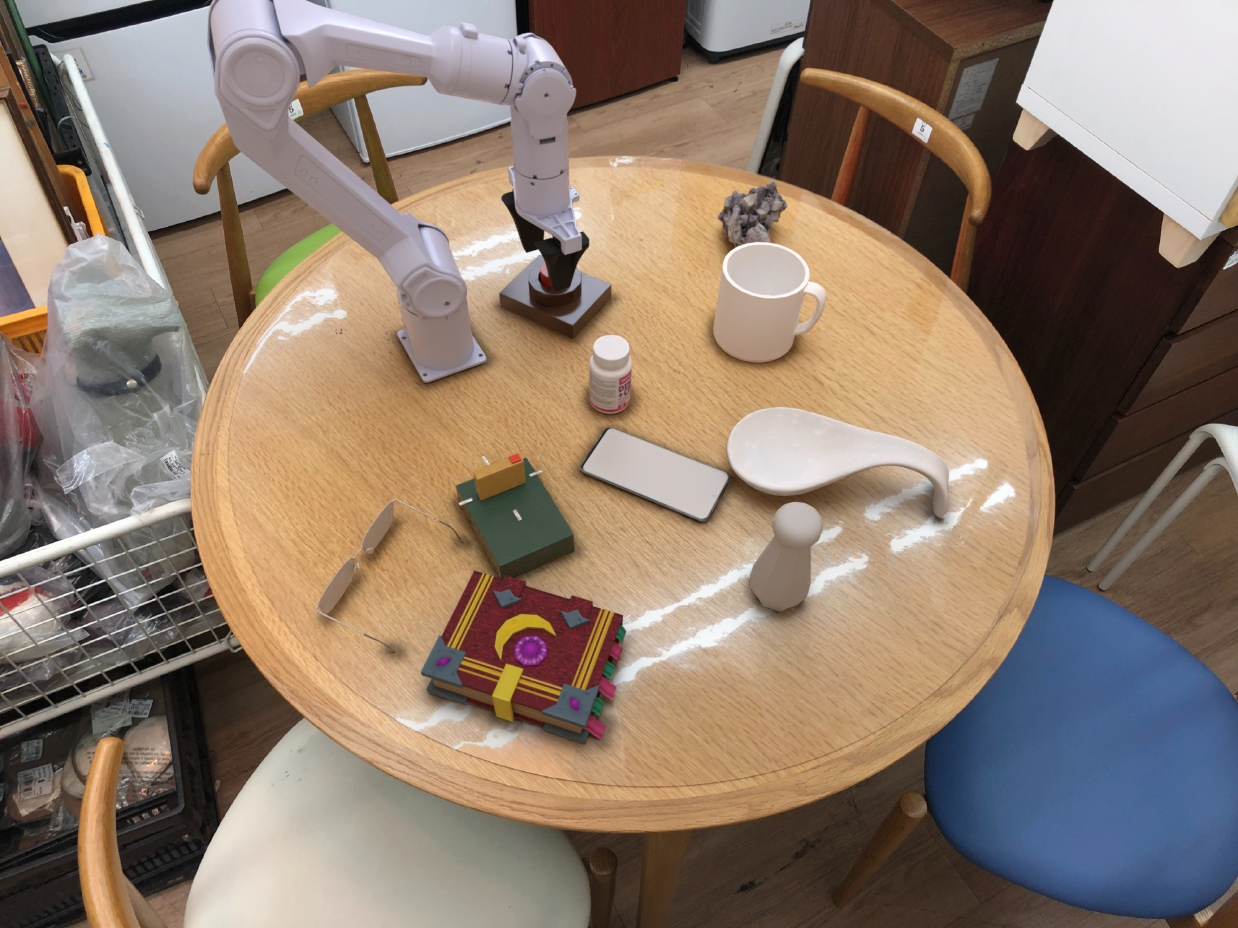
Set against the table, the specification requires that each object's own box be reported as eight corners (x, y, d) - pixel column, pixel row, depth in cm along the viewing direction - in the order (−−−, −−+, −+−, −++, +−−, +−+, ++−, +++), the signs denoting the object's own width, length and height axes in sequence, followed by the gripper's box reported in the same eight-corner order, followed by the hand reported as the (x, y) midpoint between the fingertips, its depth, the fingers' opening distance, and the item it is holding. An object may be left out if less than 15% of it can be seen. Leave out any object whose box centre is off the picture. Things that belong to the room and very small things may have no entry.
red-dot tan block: (480, 501, 90) (477, 477, 87) (476, 492, 90) (472, 469, 87) (526, 482, 91) (523, 459, 88) (521, 474, 92) (518, 451, 89)
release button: (535, 282, 110) (534, 271, 108) (551, 267, 112) (550, 255, 110) (559, 293, 109) (558, 282, 107) (575, 277, 111) (575, 265, 109)
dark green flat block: (445, 490, 94) (441, 472, 92) (524, 459, 97) (523, 440, 94) (496, 585, 87) (493, 568, 85) (579, 548, 90) (579, 530, 87)
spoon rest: (715, 500, 94) (723, 458, 88) (732, 419, 101) (740, 375, 96) (942, 547, 91) (966, 506, 85) (943, 460, 98) (965, 417, 93)
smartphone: (607, 425, 99) (731, 474, 95) (607, 428, 100) (731, 477, 96) (578, 468, 95) (706, 521, 91) (578, 472, 96) (705, 524, 92)
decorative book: (478, 590, 87) (473, 563, 83) (636, 638, 84) (638, 612, 80) (427, 694, 80) (418, 670, 76) (597, 750, 77) (597, 728, 73)
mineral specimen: (769, 262, 113) (768, 180, 110) (702, 263, 117) (700, 184, 115) (800, 254, 123) (800, 179, 120) (737, 256, 128) (736, 183, 125)
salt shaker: (742, 568, 89) (761, 491, 79) (798, 565, 89) (824, 488, 79) (752, 621, 85) (774, 546, 75) (811, 617, 86) (840, 542, 75)
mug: (700, 348, 108) (709, 282, 100) (728, 299, 114) (739, 233, 106) (799, 380, 105) (817, 315, 97) (823, 328, 111) (841, 263, 103)
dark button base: (500, 306, 112) (497, 281, 109) (540, 267, 117) (538, 243, 114) (573, 339, 109) (572, 314, 106) (611, 297, 114) (612, 273, 111)
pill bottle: (625, 418, 101) (628, 366, 94) (585, 411, 101) (584, 358, 95) (633, 388, 104) (636, 335, 97) (594, 382, 104) (594, 329, 98)
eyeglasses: (397, 514, 92) (393, 492, 89) (466, 543, 91) (465, 522, 87) (319, 625, 84) (311, 605, 81) (394, 659, 83) (389, 640, 79)
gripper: (608, 190, 89) (606, 294, 100) (546, 120, 97) (551, 223, 108) (544, 209, 87) (549, 314, 98) (486, 136, 95) (497, 240, 105)
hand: (547, 268), depth 103 cm, fingers open, 7 cm apart
